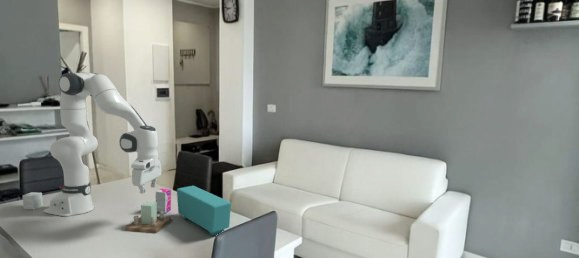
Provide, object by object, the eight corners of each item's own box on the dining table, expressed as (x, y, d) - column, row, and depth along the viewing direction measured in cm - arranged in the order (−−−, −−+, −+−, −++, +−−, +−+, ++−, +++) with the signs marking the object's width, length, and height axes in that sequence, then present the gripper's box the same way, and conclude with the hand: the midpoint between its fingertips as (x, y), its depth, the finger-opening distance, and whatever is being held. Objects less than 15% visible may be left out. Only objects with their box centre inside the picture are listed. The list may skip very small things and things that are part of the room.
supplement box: (165, 213, 180) (165, 192, 179) (155, 212, 181) (154, 191, 180) (171, 210, 186) (171, 189, 185) (161, 208, 187) (161, 188, 186)
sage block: (141, 223, 163) (140, 205, 162) (147, 219, 168) (146, 201, 167) (151, 224, 163) (151, 205, 162) (156, 220, 168) (156, 202, 167)
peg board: (125, 230, 159) (124, 218, 159) (142, 218, 174) (142, 207, 173) (156, 233, 158) (156, 221, 157) (171, 220, 172) (171, 209, 172)
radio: (232, 233, 160) (233, 201, 158) (213, 240, 153) (213, 206, 151) (195, 212, 184) (195, 184, 182) (176, 217, 177) (176, 188, 175)
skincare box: (43, 205, 187) (42, 192, 186) (33, 209, 181) (32, 196, 180) (32, 205, 187) (31, 191, 186) (23, 209, 181) (22, 195, 180)
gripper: (152, 156, 172) (152, 183, 174) (128, 165, 152) (129, 196, 154) (165, 156, 172) (165, 184, 174) (142, 166, 152) (142, 197, 153)
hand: (148, 190), depth 164 cm, fingers open, 8 cm apart
